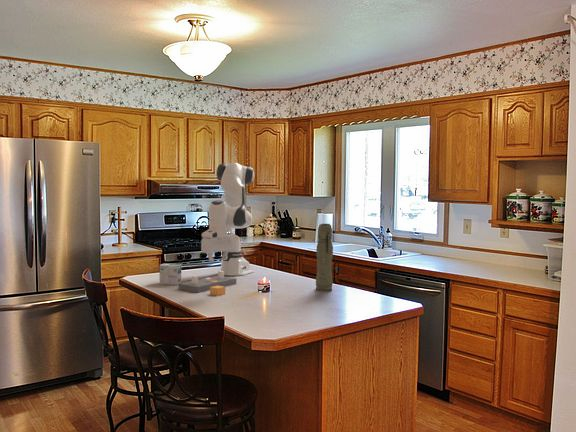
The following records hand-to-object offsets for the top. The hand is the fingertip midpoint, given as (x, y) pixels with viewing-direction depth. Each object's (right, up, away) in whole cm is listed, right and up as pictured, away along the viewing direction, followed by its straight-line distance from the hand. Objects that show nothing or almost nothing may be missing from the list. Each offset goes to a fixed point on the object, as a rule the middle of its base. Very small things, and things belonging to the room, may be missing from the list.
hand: (217, 260), depth 264 cm
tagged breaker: (-8, -16, +20) cm, 26 cm away
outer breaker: (-13, -13, +11) cm, 22 cm away
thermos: (+55, -17, +16) cm, 59 cm away
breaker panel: (-8, -16, +20) cm, 27 cm away
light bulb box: (-30, -15, +27) cm, 43 cm away
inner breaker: (-2, -13, +28) cm, 31 cm away
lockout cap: (0, -17, +1) cm, 17 cm away
